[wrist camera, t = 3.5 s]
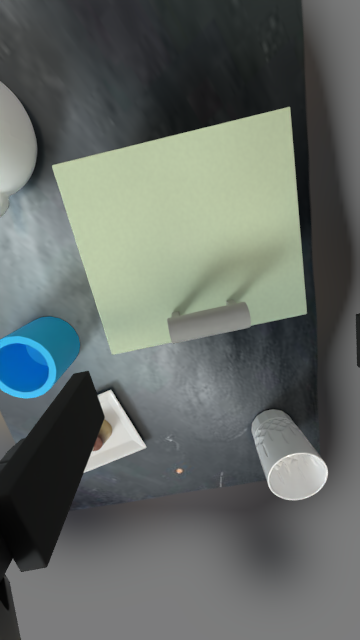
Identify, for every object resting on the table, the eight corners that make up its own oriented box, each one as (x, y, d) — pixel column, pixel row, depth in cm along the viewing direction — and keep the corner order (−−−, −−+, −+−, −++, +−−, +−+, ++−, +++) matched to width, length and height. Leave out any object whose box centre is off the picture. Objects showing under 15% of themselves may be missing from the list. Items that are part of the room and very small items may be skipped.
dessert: (112, 385, 41) (104, 403, 37) (147, 442, 45) (144, 465, 40) (47, 414, 43) (31, 435, 38) (85, 467, 46) (75, 492, 41)
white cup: (292, 401, 43) (325, 447, 33) (297, 440, 45) (330, 494, 35) (244, 411, 43) (263, 460, 34) (251, 449, 45) (272, 505, 36)
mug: (68, 310, 38) (41, 328, 30) (87, 361, 40) (66, 390, 32) (-11, 329, 38) (-58, 352, 31) (13, 378, 41) (-26, 411, 33)
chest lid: (303, 311, 25) (339, 331, 20) (113, 351, 26) (97, 382, 20) (286, 111, 20) (327, 62, 15) (55, 167, 21) (13, 142, 16)
